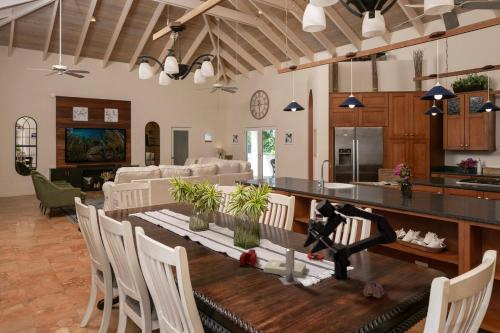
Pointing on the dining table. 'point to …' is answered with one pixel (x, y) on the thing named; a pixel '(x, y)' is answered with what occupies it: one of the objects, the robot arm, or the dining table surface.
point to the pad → (289, 282)
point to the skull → (373, 290)
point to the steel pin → (290, 265)
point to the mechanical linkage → (248, 258)
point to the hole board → (283, 267)
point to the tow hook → (315, 255)
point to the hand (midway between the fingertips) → (307, 250)
